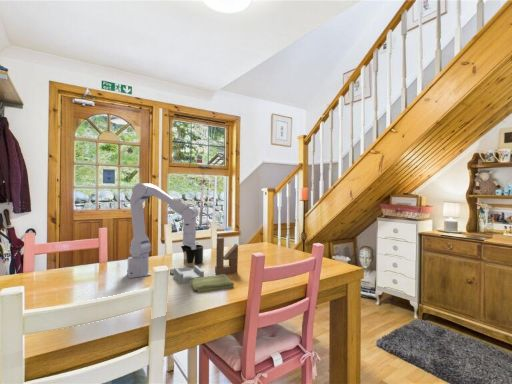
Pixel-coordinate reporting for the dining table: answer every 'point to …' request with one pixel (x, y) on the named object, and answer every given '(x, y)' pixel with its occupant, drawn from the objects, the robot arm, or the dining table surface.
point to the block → (186, 260)
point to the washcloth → (211, 283)
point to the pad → (179, 270)
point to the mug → (199, 254)
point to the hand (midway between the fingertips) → (188, 261)
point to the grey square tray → (188, 274)
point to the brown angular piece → (226, 258)
